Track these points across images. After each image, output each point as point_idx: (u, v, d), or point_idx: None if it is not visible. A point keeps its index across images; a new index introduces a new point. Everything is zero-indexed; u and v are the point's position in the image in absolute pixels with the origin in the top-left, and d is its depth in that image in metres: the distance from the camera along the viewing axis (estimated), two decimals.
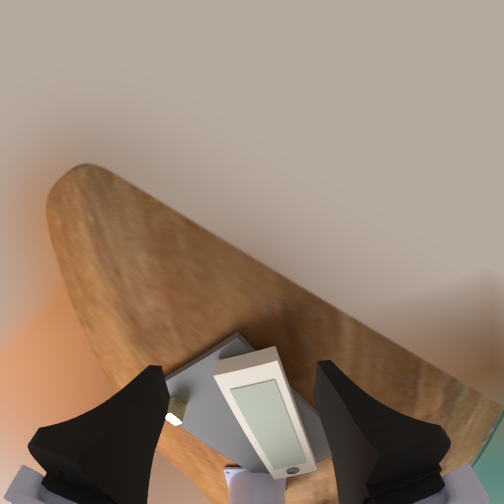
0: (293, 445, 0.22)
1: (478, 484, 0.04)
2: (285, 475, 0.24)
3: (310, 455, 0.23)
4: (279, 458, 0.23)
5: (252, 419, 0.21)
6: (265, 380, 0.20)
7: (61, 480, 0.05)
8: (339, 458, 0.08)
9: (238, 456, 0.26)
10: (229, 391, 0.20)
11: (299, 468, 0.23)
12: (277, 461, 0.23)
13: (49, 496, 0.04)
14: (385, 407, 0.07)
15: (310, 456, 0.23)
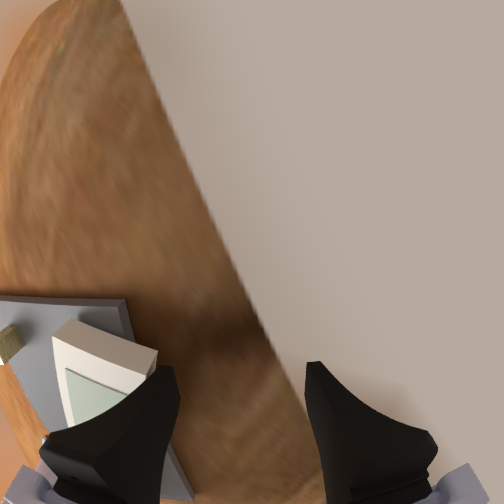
0: None
1: (478, 484, 0.04)
2: None
3: None
4: None
5: (81, 420, 0.12)
6: (116, 388, 0.11)
7: (73, 485, 0.05)
8: (327, 460, 0.08)
9: None
10: (64, 370, 0.11)
11: None
12: None
13: (49, 496, 0.04)
14: (372, 410, 0.07)
15: None
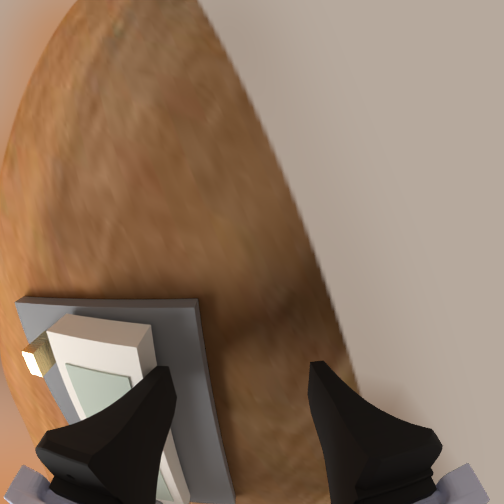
0: None
1: (478, 484, 0.04)
2: None
3: (178, 496, 0.14)
4: None
5: None
6: (114, 372, 0.11)
7: (69, 483, 0.05)
8: (331, 459, 0.08)
9: None
10: (65, 365, 0.11)
11: (163, 503, 0.14)
12: None
13: (49, 496, 0.04)
14: (376, 409, 0.07)
15: (178, 497, 0.14)
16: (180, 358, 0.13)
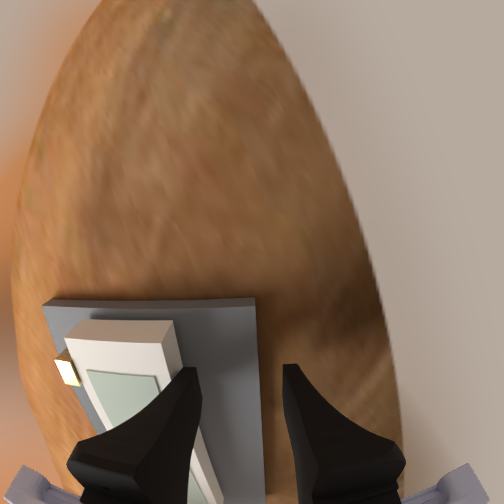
0: None
1: (478, 484, 0.04)
2: None
3: (212, 498, 0.14)
4: None
5: None
6: (139, 373, 0.11)
7: (102, 495, 0.05)
8: (298, 464, 0.08)
9: None
10: (86, 372, 0.11)
11: None
12: None
13: (49, 496, 0.04)
14: (341, 416, 0.07)
15: (212, 499, 0.14)
16: (234, 358, 0.13)
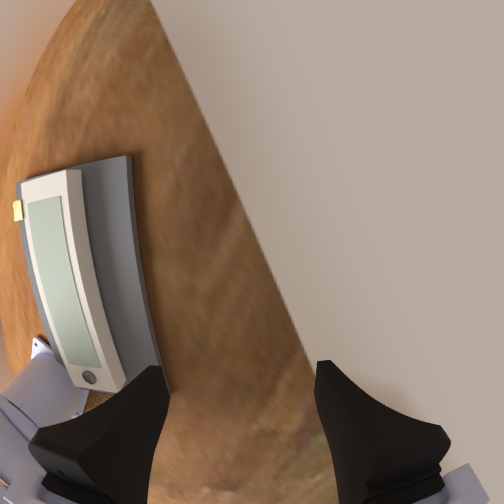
0: (80, 323, 0.18)
1: (478, 484, 0.04)
2: (84, 383, 0.20)
3: (103, 356, 0.19)
4: (70, 343, 0.18)
5: (40, 257, 0.17)
6: (53, 196, 0.16)
7: (61, 480, 0.05)
8: (339, 458, 0.08)
9: None
10: (27, 206, 0.16)
11: (95, 377, 0.19)
12: (70, 349, 0.19)
13: (49, 496, 0.04)
14: (385, 407, 0.07)
15: (103, 358, 0.19)
16: (114, 197, 0.18)
